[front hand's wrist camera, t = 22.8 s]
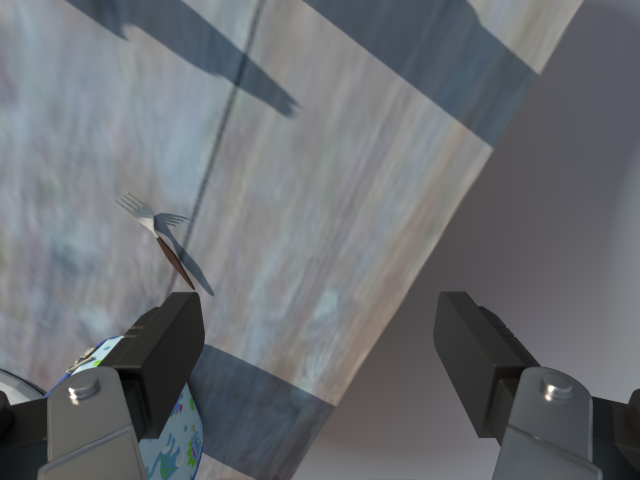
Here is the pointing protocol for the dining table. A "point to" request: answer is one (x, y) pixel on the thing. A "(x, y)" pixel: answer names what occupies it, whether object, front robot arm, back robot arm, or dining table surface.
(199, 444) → the lunch box
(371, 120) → the dining table surface
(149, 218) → the fork
